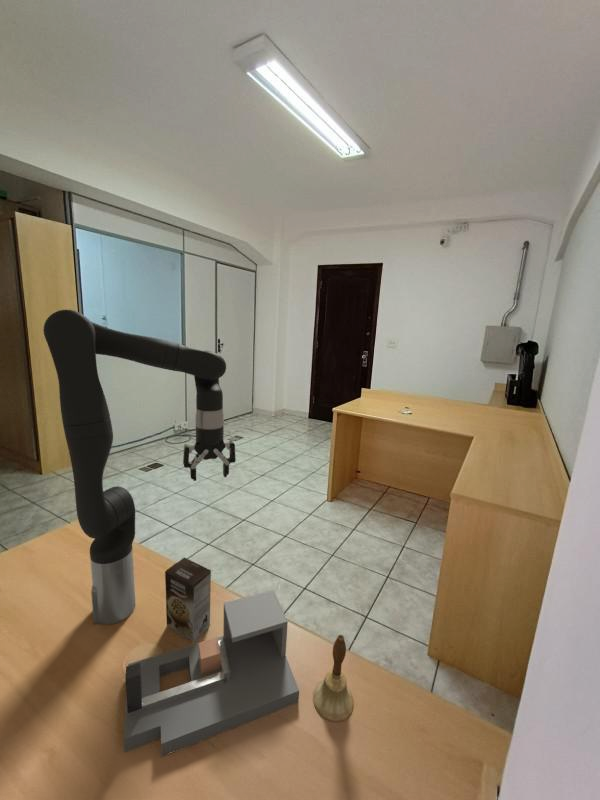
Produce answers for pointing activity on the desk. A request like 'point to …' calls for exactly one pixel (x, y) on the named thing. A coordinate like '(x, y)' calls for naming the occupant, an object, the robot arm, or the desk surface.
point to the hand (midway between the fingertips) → (209, 477)
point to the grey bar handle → (141, 704)
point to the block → (209, 655)
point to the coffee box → (188, 598)
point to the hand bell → (334, 688)
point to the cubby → (226, 703)
